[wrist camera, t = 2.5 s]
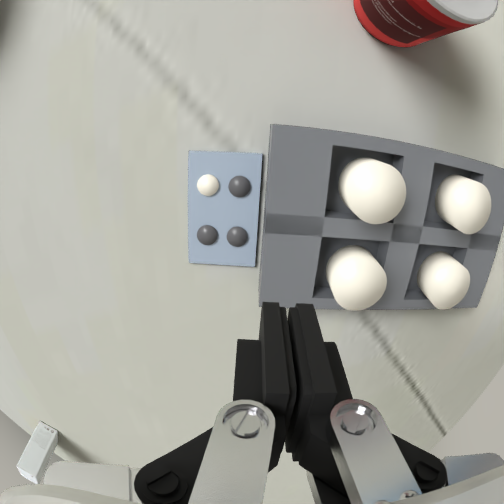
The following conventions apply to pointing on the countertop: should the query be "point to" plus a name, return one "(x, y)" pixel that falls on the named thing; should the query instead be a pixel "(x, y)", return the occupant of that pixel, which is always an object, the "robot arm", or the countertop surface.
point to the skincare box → (38, 452)
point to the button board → (333, 216)
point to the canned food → (420, 18)
